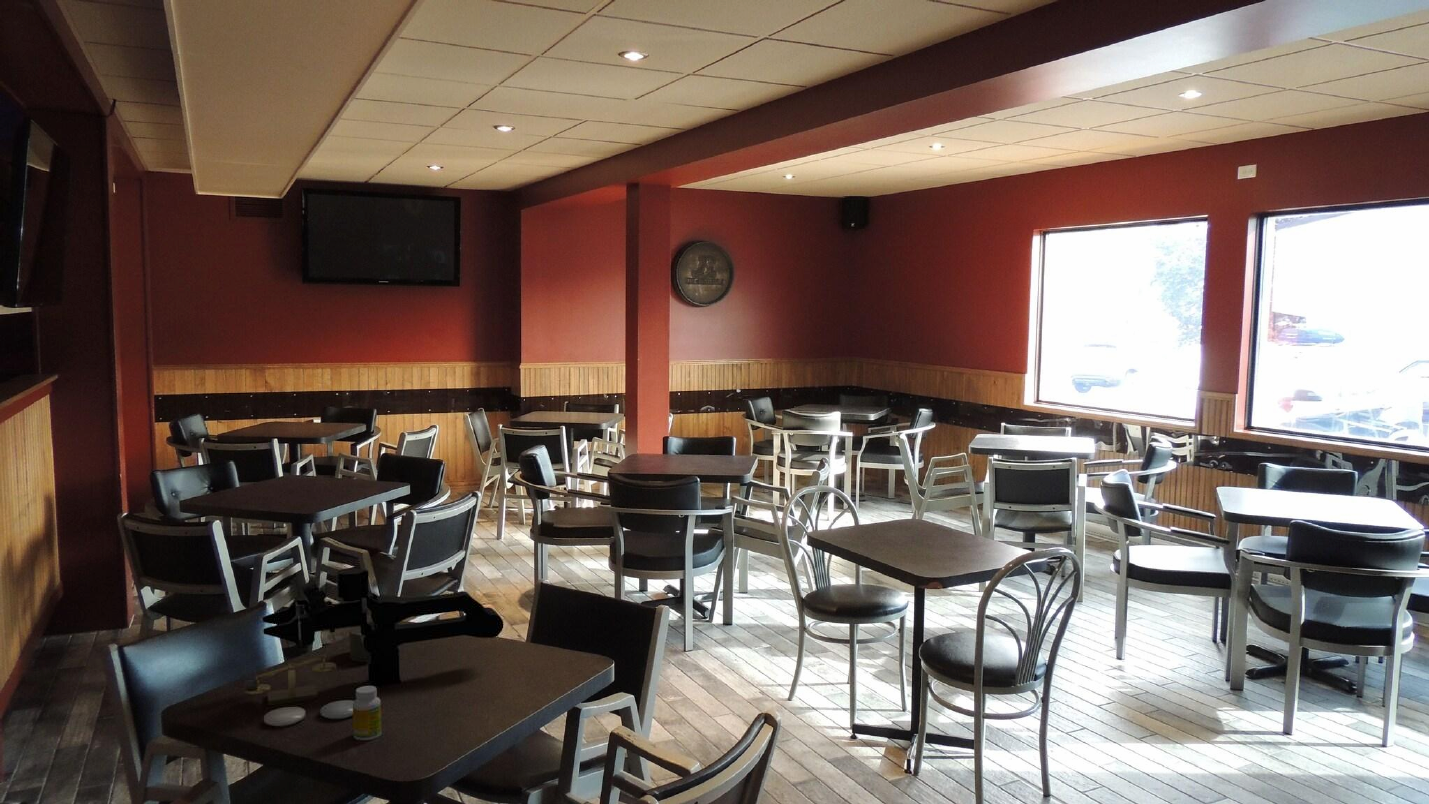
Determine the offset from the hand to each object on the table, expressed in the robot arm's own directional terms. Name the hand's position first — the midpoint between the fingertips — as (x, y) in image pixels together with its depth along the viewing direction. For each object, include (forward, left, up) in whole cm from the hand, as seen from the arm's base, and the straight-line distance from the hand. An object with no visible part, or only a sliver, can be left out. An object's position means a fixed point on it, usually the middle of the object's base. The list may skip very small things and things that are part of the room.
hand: (263, 625), depth 223 cm
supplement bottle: (-18, +30, -17) cm, 39 cm away
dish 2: (-14, +16, -17) cm, 27 cm away
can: (-25, -20, -17) cm, 36 cm away
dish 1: (-3, +15, -17) cm, 23 cm away
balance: (-5, +2, -17) cm, 18 cm away
